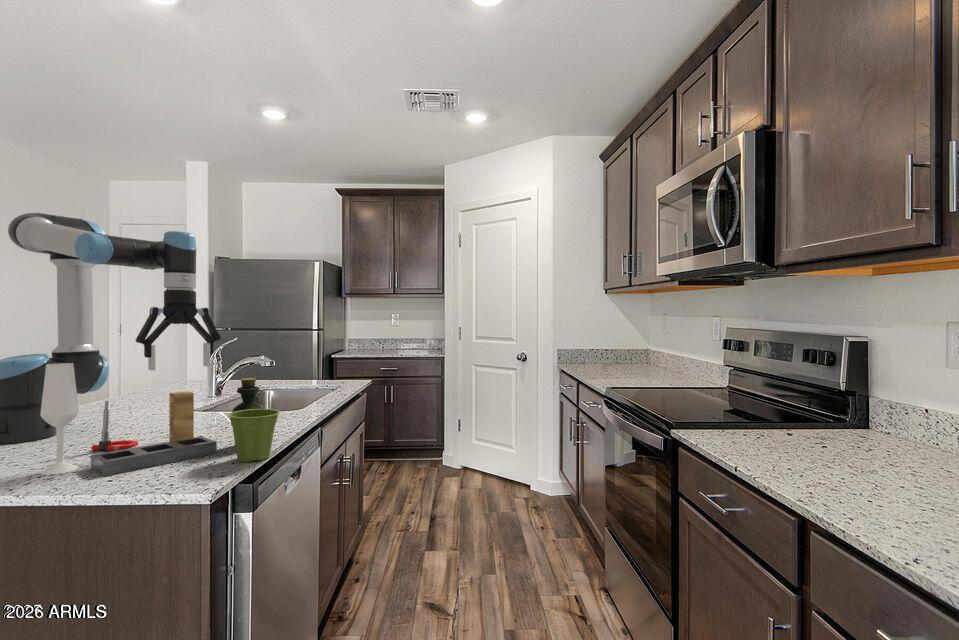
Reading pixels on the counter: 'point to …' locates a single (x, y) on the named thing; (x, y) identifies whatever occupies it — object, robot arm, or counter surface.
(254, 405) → the potion bottle
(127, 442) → the tow hook
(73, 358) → the robot arm
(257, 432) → the plant pot
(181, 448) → the grey slotted tray
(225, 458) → the counter surface
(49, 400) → the champagne flute
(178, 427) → the ochre peg
